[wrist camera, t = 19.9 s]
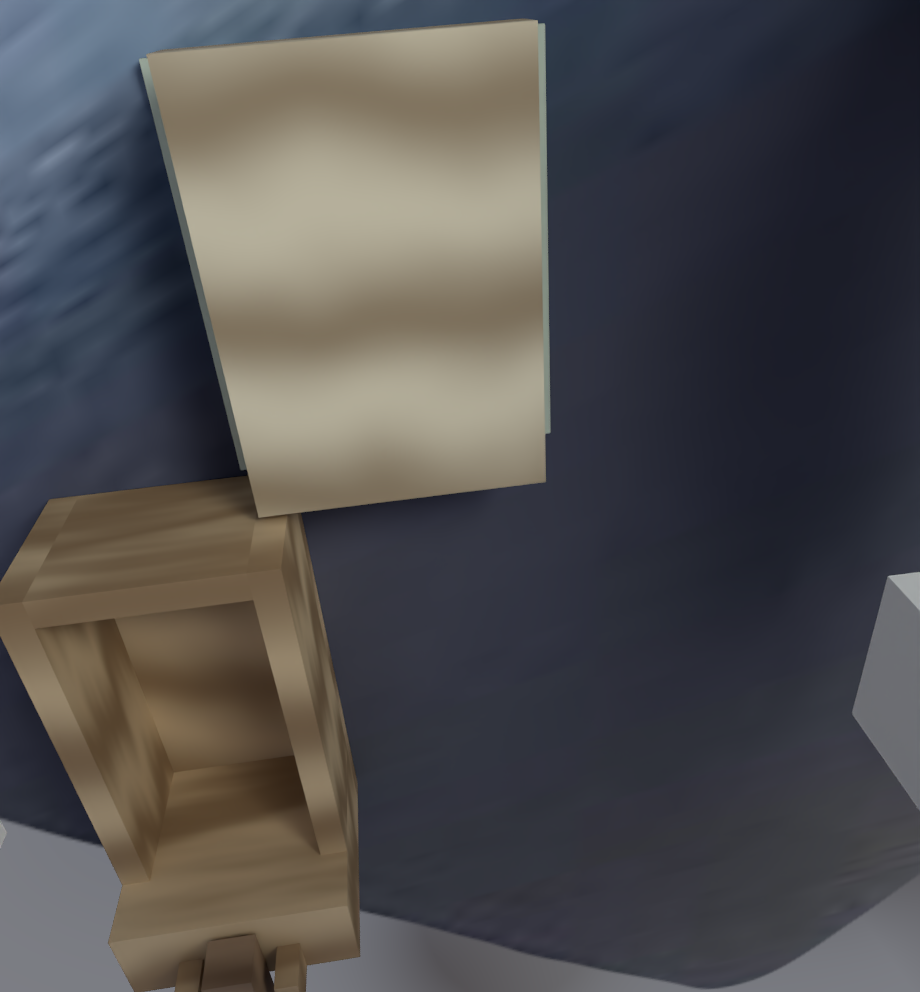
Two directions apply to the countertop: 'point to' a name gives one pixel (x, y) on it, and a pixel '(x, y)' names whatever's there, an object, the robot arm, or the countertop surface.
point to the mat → (196, 274)
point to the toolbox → (194, 722)
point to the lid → (369, 255)
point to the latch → (236, 966)
